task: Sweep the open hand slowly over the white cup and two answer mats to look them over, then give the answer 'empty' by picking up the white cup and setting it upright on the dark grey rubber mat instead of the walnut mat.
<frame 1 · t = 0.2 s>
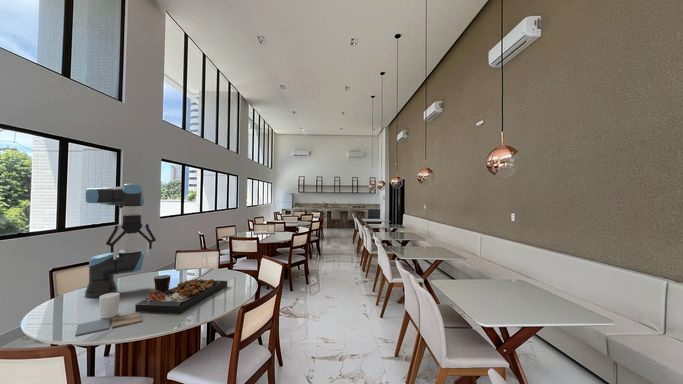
hand: (131, 257, 146), 28 cm above the table, tool pointing down, fingers open, 13 cm apart
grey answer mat: (93, 327, 130), on the table
coffee mug: (164, 292, 178), on the table
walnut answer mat: (126, 320, 137), on the table
food platter: (186, 299, 168), on the table
white cup: (109, 316, 143), on the table
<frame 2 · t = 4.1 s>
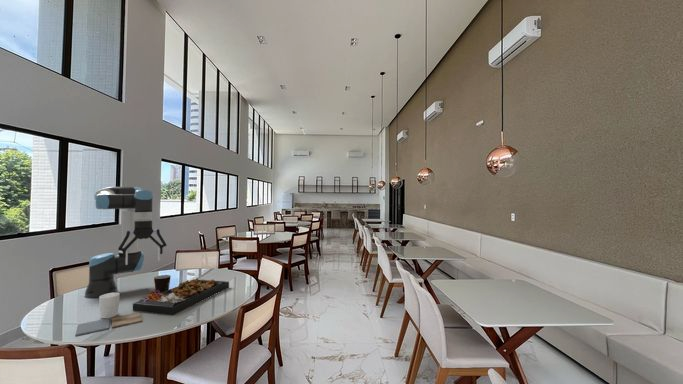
hand: (143, 262, 148), 25 cm above the table, tool pointing down, fingers open, 13 cm apart
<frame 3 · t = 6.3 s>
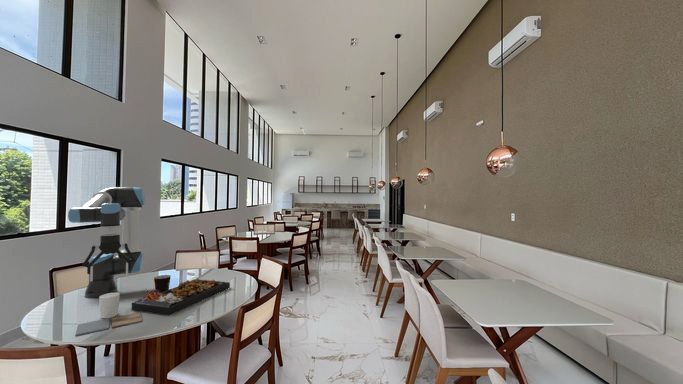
hand: (109, 278, 143), 18 cm above the table, tool pointing down, fingers open, 13 cm apart
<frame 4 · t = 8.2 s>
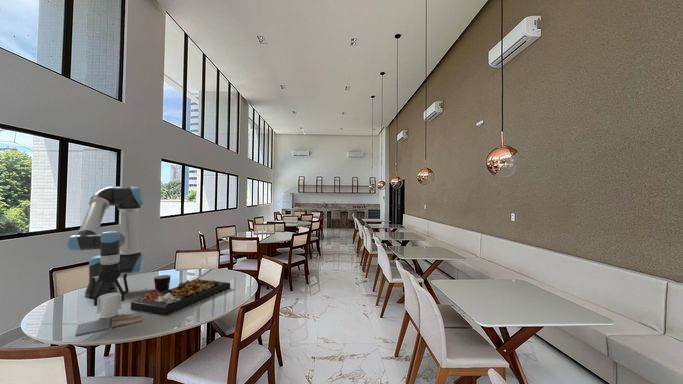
hand: (109, 310, 143), 3 cm above the table, tool pointing down, fingers closed on white cup, 8 cm apart
white cup: (109, 316, 143), on the table, touching gripper
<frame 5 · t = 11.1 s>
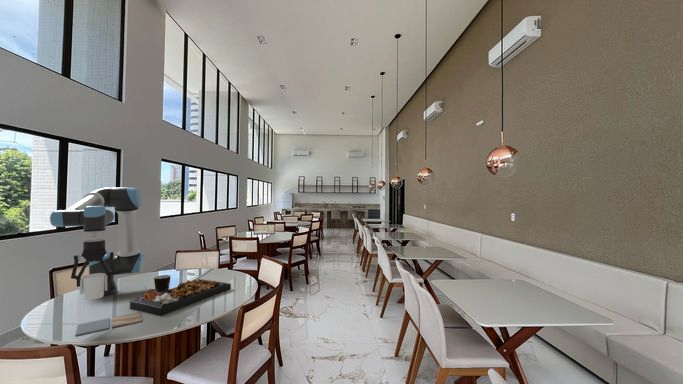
hand: (93, 291, 130), 16 cm above the table, tool pointing down, fingers closed on white cup, 8 cm apart
white cup: (93, 298, 130), point 13 cm above the table, touching gripper
when the fingers open (4 cm above the table, at t = 14.1 s): white cup moves 1 cm, resting on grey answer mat.
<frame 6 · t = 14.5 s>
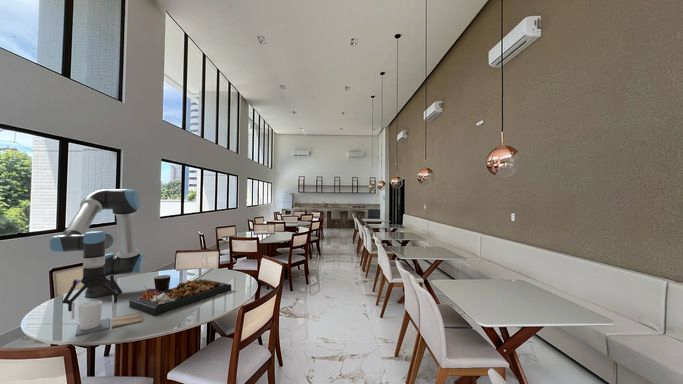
hand: (93, 314, 130), 6 cm above the table, tool pointing down, fingers open, 13 cm apart
white cup: (90, 327, 129), resting on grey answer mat
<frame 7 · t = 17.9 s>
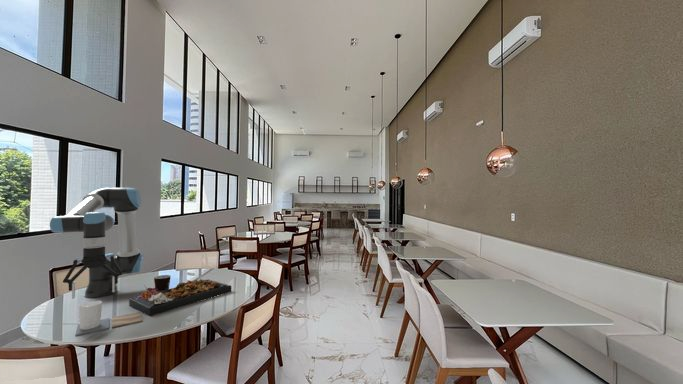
hand: (94, 294, 131), 14 cm above the table, tool pointing down, fingers open, 13 cm apart
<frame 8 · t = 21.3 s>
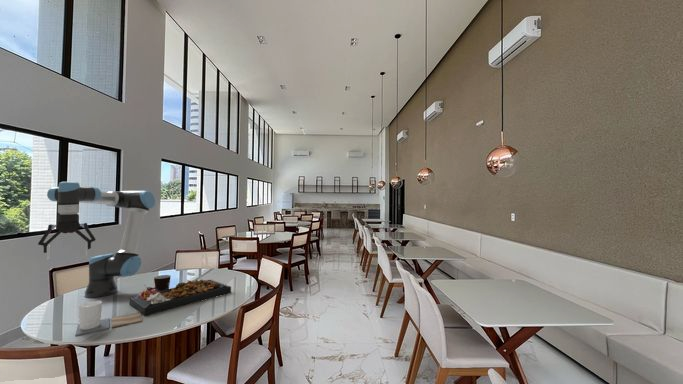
hand: (68, 257, 142), 29 cm above the table, tool pointing down, fingers open, 13 cm apart
at the end: white cup inside the target area on the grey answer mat (1.1 cm from its centre), point 0.4 cm above the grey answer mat's base; white cup tilted 0°; the gripper is holding nothing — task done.
